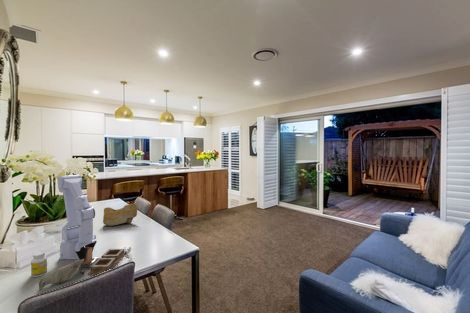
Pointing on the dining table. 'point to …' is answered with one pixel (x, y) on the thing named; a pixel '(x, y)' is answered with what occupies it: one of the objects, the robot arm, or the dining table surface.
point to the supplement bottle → (38, 264)
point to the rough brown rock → (119, 215)
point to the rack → (107, 261)
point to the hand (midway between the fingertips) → (85, 258)
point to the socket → (87, 266)
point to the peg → (88, 256)
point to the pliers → (128, 253)
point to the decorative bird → (60, 274)
